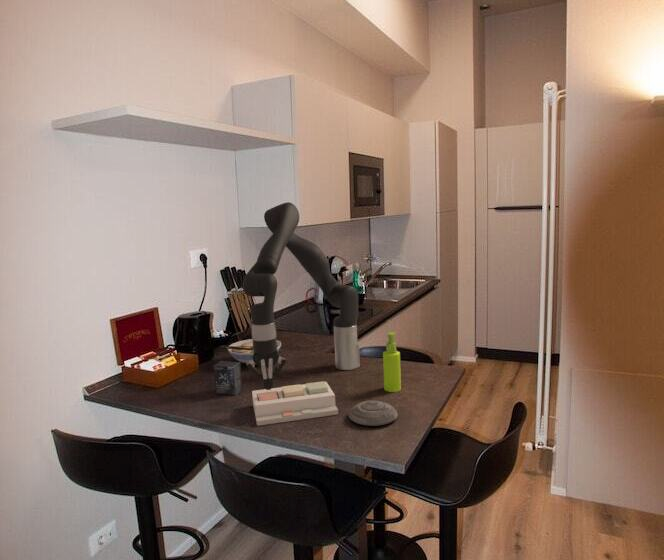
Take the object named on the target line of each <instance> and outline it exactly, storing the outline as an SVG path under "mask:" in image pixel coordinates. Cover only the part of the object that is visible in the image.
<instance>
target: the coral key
mask: <svg viewBox="0 0 664 560" xmlns="http://www.w3.org/2000/svg"><path fill="white" fill-rule="evenodd" d="M273 399H278V396H277V393H276V392H271V393H263V394H258V401H265V400H273Z"/></svg>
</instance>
